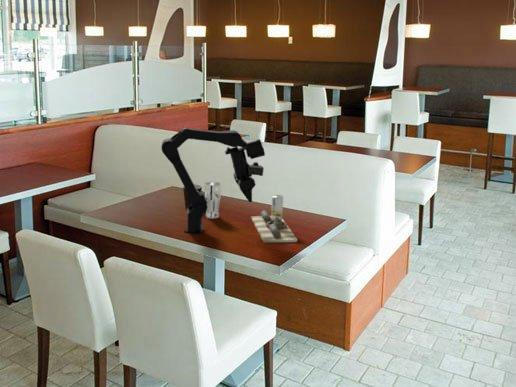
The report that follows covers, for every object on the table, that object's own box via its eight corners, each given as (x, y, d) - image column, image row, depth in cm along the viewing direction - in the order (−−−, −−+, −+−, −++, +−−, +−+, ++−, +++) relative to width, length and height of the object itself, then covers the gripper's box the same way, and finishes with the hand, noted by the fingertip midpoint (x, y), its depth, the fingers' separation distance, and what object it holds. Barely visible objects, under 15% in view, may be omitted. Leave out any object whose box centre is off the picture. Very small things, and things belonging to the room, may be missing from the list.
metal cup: (284, 227, 237) (285, 197, 233) (274, 229, 234) (275, 198, 231) (278, 224, 241) (279, 194, 237) (268, 226, 238) (269, 195, 235)
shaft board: (297, 241, 223) (297, 232, 222) (264, 242, 221) (264, 233, 220) (280, 217, 254) (280, 209, 253) (251, 218, 252) (251, 209, 251)
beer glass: (201, 217, 250) (201, 183, 247) (209, 213, 256) (210, 180, 253) (214, 220, 247) (215, 186, 243) (223, 216, 253) (223, 183, 249)
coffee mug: (192, 204, 271) (192, 183, 268) (205, 207, 265) (206, 186, 263) (174, 208, 262) (174, 187, 259) (187, 212, 257) (187, 190, 254)
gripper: (263, 161, 220) (272, 199, 224) (255, 152, 238) (264, 188, 242) (235, 169, 219) (244, 207, 223) (229, 159, 236) (238, 195, 241)
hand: (248, 198), depth 232 cm, fingers open, 9 cm apart
